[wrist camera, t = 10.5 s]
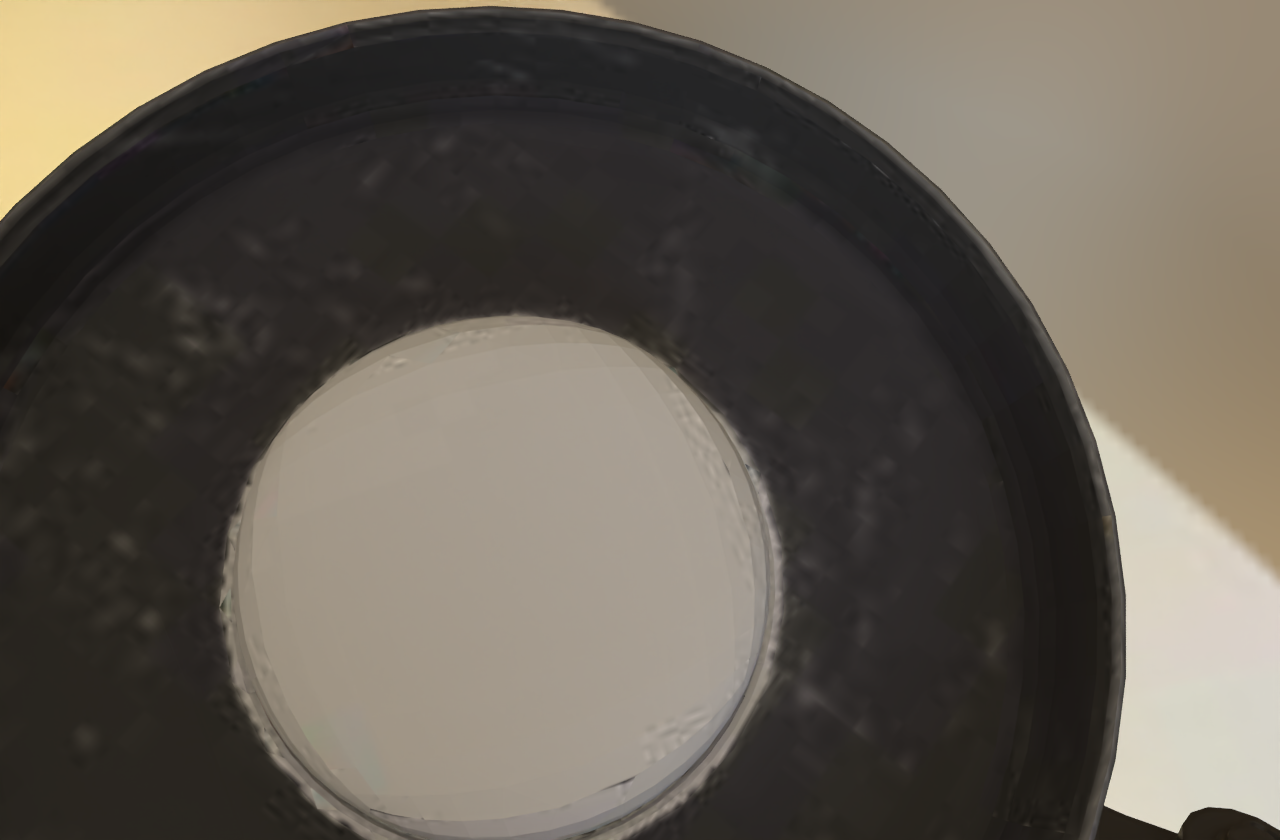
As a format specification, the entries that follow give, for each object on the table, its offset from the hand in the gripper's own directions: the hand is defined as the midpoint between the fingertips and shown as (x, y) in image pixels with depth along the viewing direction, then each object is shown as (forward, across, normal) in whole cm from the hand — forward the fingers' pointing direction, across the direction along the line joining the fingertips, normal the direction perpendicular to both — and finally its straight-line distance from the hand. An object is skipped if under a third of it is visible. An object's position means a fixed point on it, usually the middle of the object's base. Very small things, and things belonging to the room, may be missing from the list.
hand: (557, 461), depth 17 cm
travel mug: (+4, 0, -9) cm, 10 cm away
